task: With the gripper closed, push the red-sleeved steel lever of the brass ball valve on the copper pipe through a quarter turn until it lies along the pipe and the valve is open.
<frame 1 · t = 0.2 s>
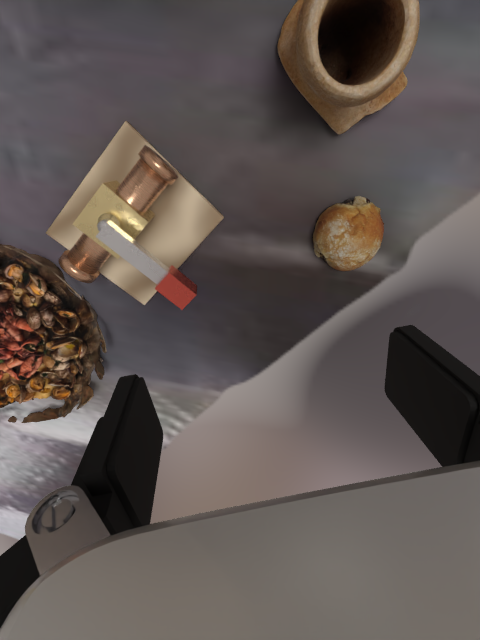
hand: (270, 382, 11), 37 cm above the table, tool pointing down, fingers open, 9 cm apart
bread roll: (342, 231, 47), on the table
valve lever: (147, 262, 35), point 11 cm above the table, hinge at 0.0°
beige board: (138, 223, 43), on the table
valve pipe: (126, 213, 42), resting on beige board
stone cup: (327, 75, 38), on the table
food dish: (0, 327, 49), on the table
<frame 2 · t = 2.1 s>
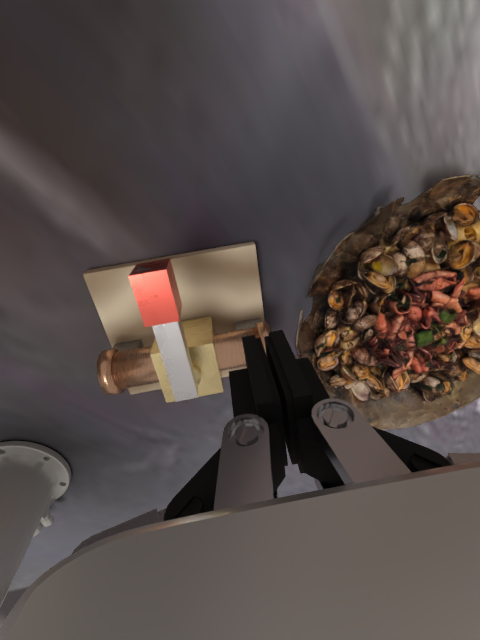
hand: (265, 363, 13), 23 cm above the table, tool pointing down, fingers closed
valve lever: (172, 339, 25), point 11 cm above the table, hinge at 0.0°
beige board: (187, 320, 36), on the table
valve pipe: (191, 335, 37), resting on beige board
food dish: (405, 320, 41), on the table
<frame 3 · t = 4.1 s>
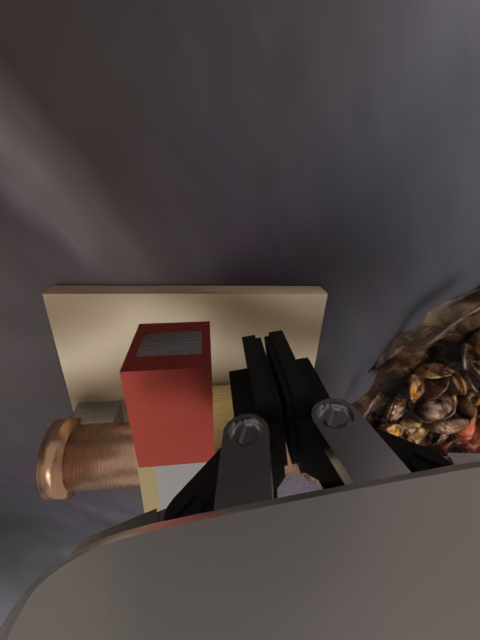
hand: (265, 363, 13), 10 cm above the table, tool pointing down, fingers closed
valve lever: (184, 466, 13), point 11 cm above the table, hinge at 1.7°, touching gripper
beige board: (195, 380, 24), on the table
valve pipe: (196, 399, 25), resting on beige board
food dish: (477, 415, 31), on the table
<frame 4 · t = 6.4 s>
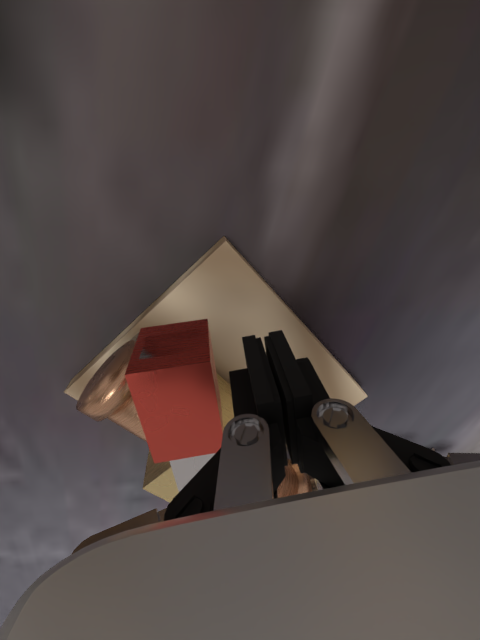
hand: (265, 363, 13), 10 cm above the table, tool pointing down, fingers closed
valve lever: (199, 459, 14), point 11 cm above the table, hinge at 54.2°, touching gripper
beige board: (226, 382, 25), on the table
valve pipe: (209, 396, 26), resting on beige board
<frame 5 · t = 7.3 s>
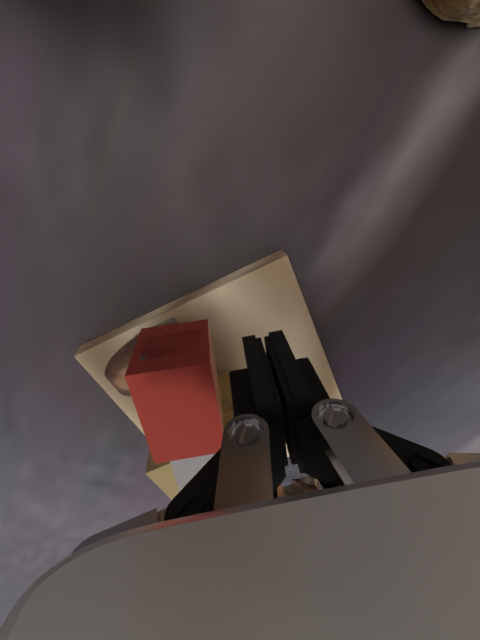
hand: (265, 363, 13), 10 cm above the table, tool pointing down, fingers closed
valve lever: (200, 459, 14), point 11 cm above the table, hinge at 71.4°, touching gripper
beige board: (231, 386, 26), on the table
valve pipe: (210, 395, 26), resting on beige board
food dish: (280, 549, 40), on the table
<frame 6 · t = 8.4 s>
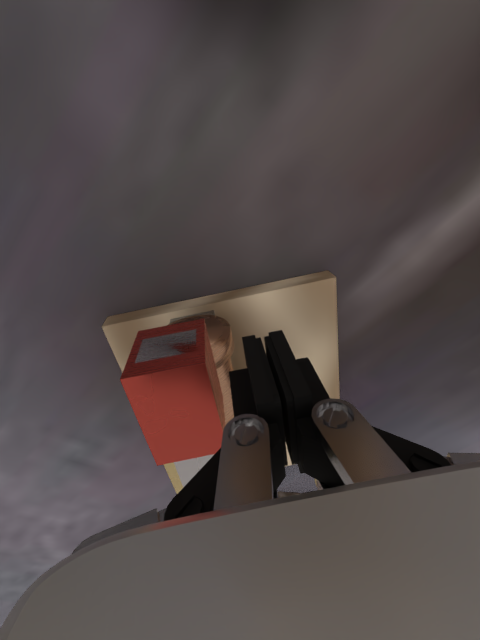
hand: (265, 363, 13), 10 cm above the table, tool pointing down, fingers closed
valve lever: (205, 459, 14), point 11 cm above the table, hinge at 88.7°, touching gripper
beige board: (240, 389, 26), on the table
valve pipe: (217, 394, 26), resting on beige board
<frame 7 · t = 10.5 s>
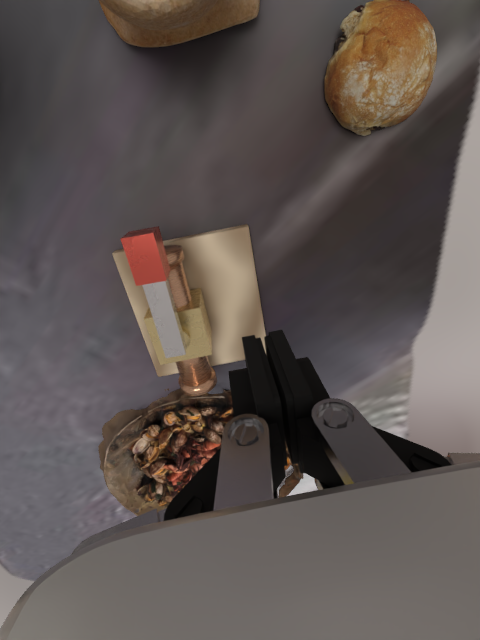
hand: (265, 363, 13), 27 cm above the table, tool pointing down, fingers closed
bread roll: (367, 76, 31), on the table
valve lever: (161, 300, 28), point 11 cm above the table, hinge at 88.8°
beige board: (198, 304, 40), on the table
valve pipe: (184, 307, 40), resting on beige board
food dish: (202, 452, 54), on the table
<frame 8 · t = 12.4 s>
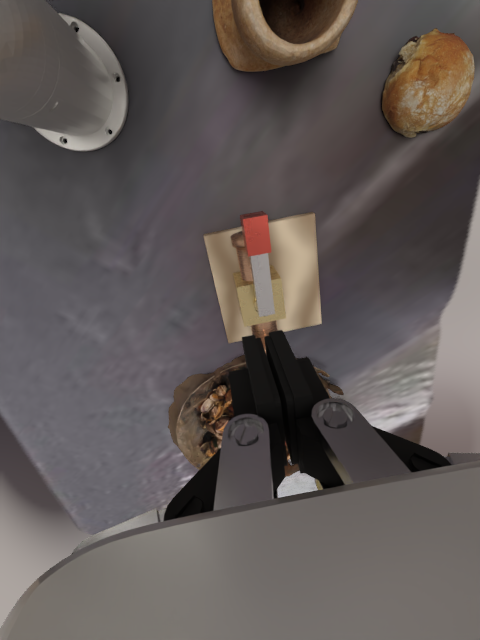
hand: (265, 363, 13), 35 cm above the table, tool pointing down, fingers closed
bread roll: (415, 90, 39), on the table
valve lever: (260, 269, 36), point 11 cm above the table, hinge at 88.8°
beige board: (266, 280, 48), on the table
valve pipe: (253, 283, 48), resting on beige board
stone cup: (280, 25, 35), on the table
food dish: (255, 414, 62), on the table
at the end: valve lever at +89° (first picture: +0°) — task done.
